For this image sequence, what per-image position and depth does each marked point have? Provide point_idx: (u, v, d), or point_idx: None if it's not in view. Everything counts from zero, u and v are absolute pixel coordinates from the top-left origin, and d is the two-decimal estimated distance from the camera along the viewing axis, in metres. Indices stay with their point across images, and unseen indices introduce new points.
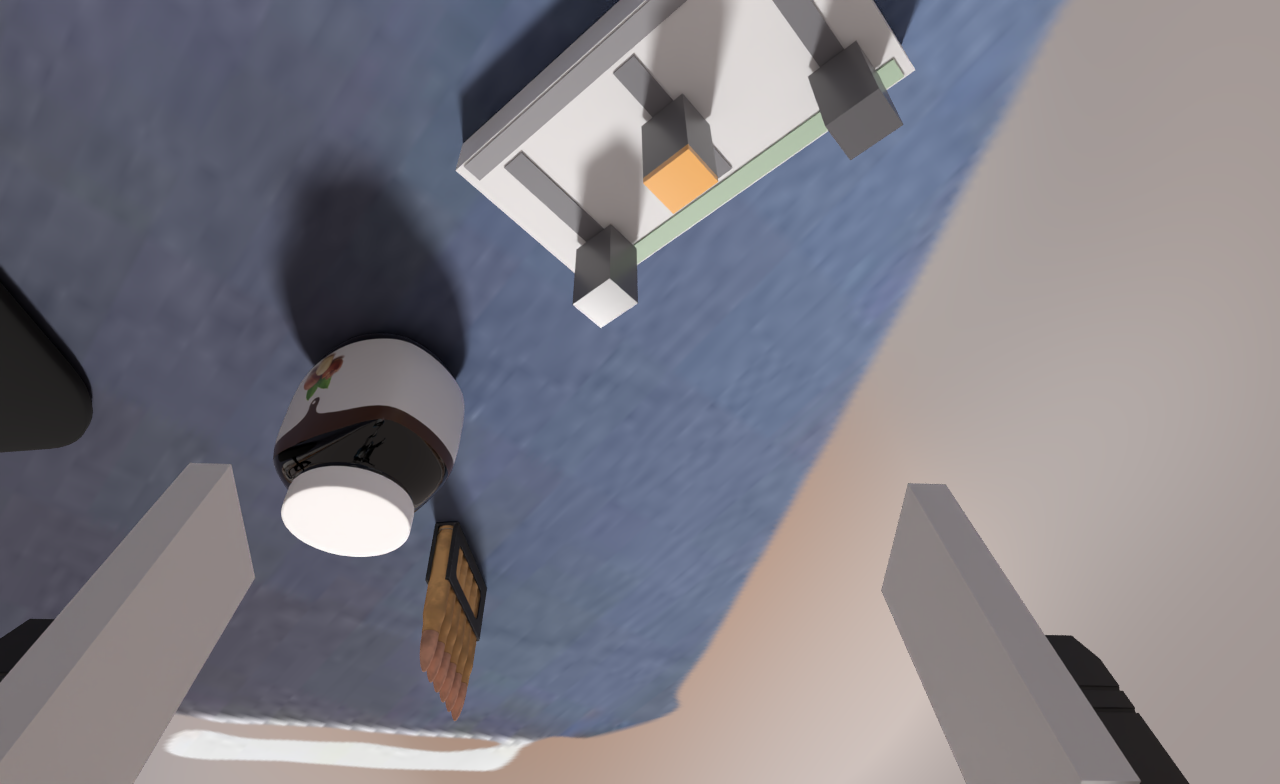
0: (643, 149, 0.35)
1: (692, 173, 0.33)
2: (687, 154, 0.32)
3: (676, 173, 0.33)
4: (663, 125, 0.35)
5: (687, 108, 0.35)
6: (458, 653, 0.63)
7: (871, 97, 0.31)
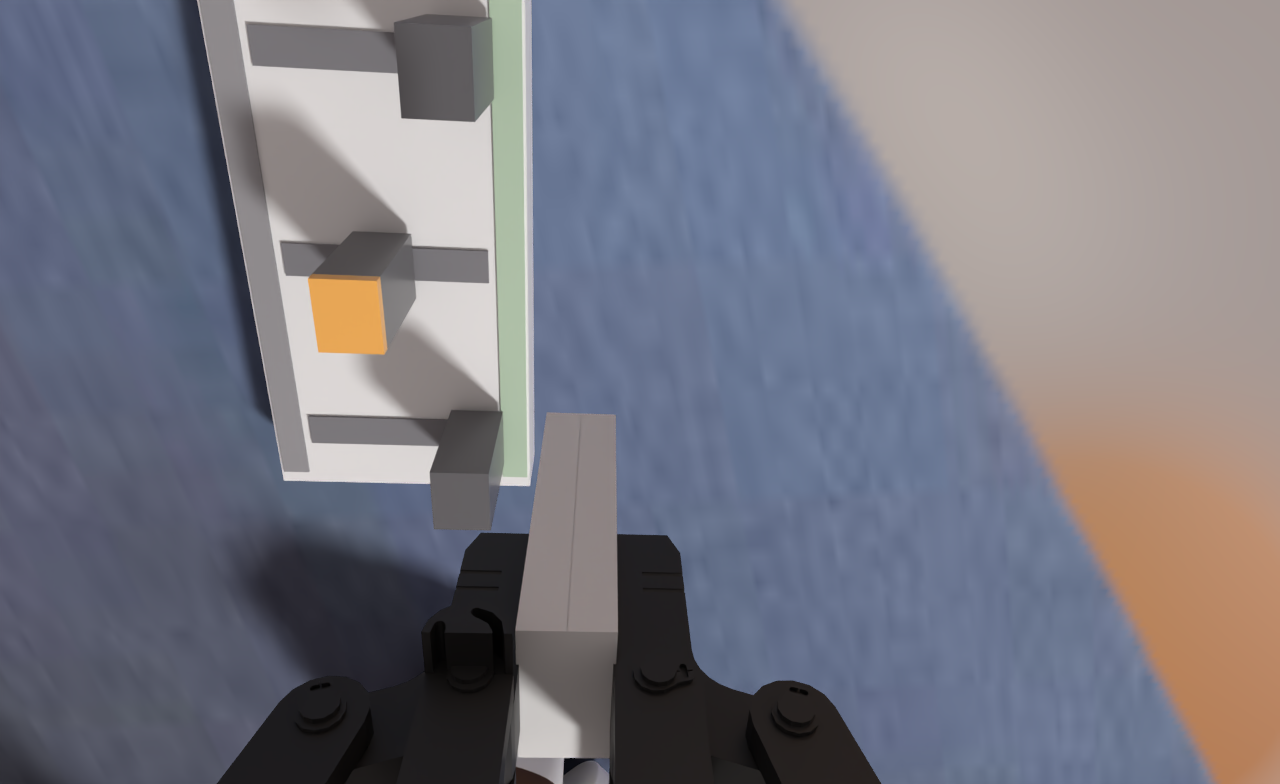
0: None
1: (343, 297, 0.24)
2: (313, 285, 0.24)
3: (331, 312, 0.24)
4: None
5: (353, 240, 0.27)
6: None
7: (400, 39, 0.21)
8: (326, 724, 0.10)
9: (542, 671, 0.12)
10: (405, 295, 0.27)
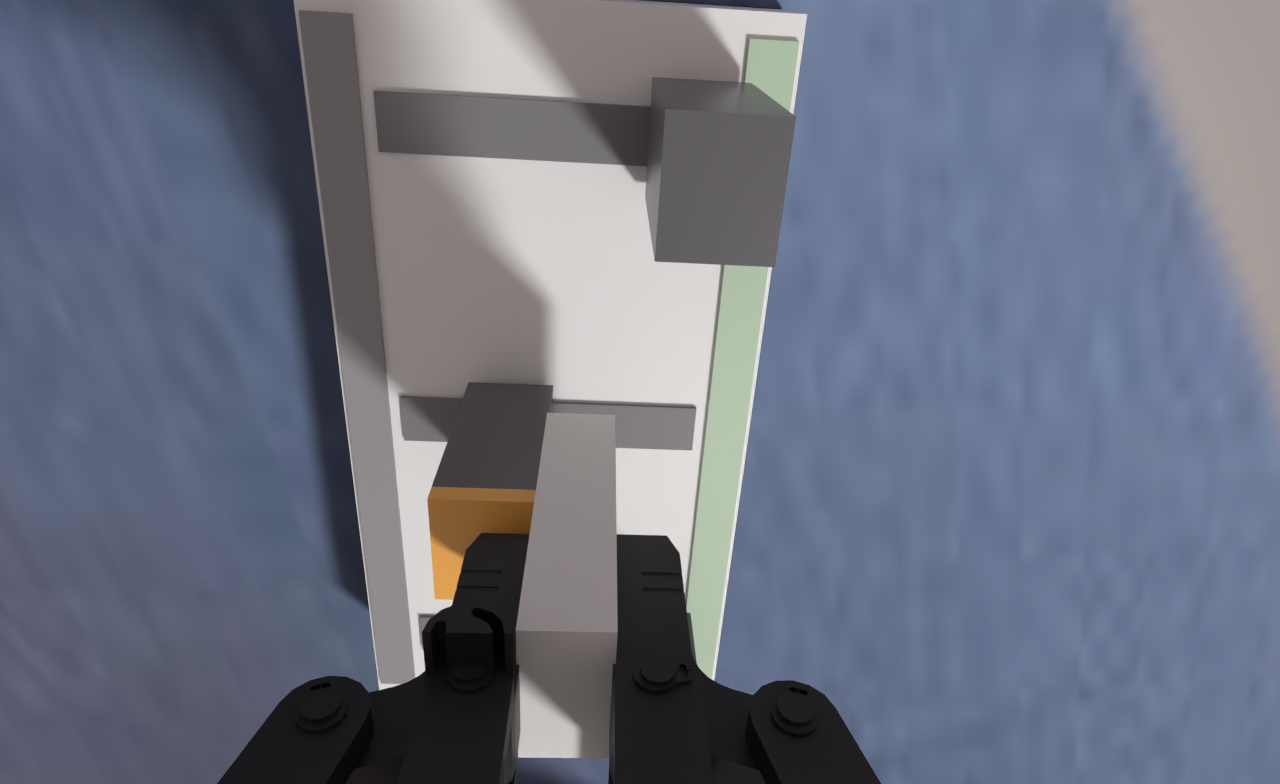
0: None
1: (481, 525, 0.15)
2: (435, 508, 0.15)
3: (460, 546, 0.15)
4: None
5: (474, 402, 0.18)
6: None
7: (671, 136, 0.12)
8: (326, 724, 0.10)
9: (542, 671, 0.12)
10: None
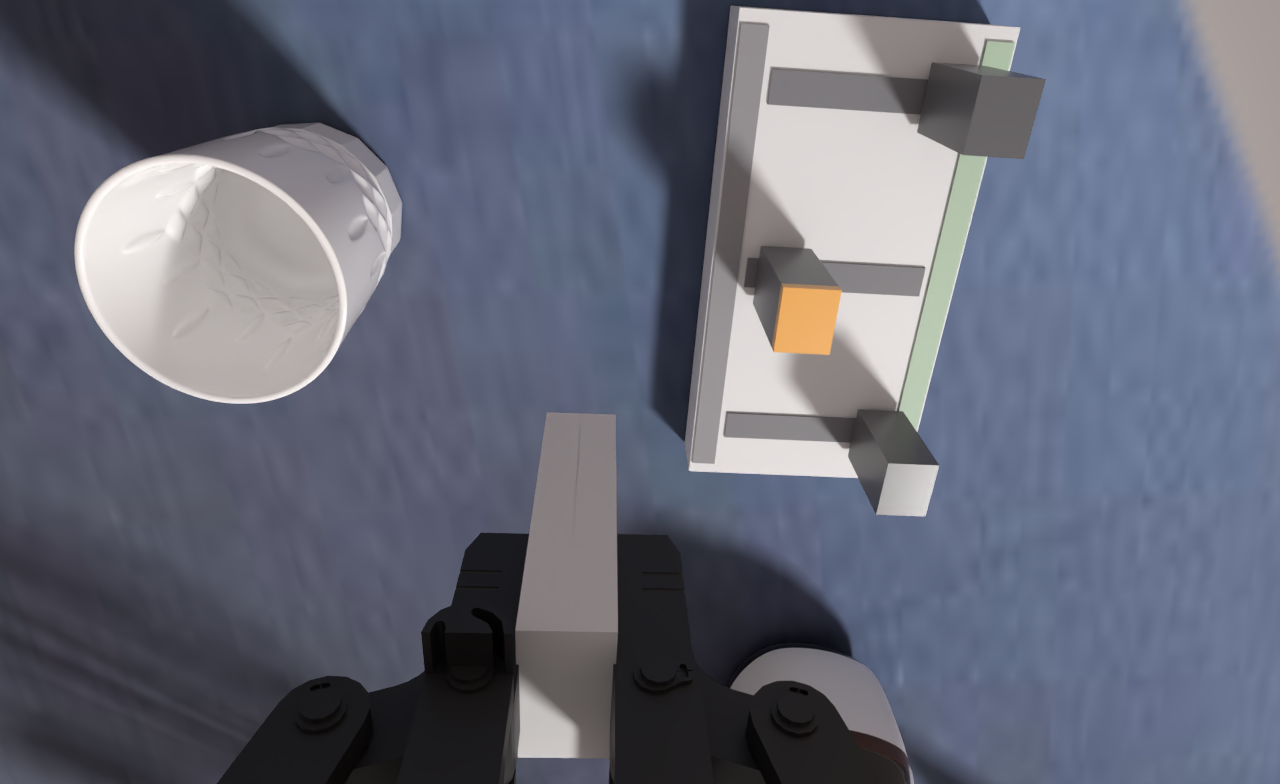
0: (761, 321, 0.31)
1: (809, 304, 0.27)
2: (786, 292, 0.27)
3: (794, 317, 0.28)
4: (762, 286, 0.31)
5: (772, 254, 0.31)
6: None
7: (983, 89, 0.25)
8: (326, 724, 0.10)
9: (542, 671, 0.12)
10: None
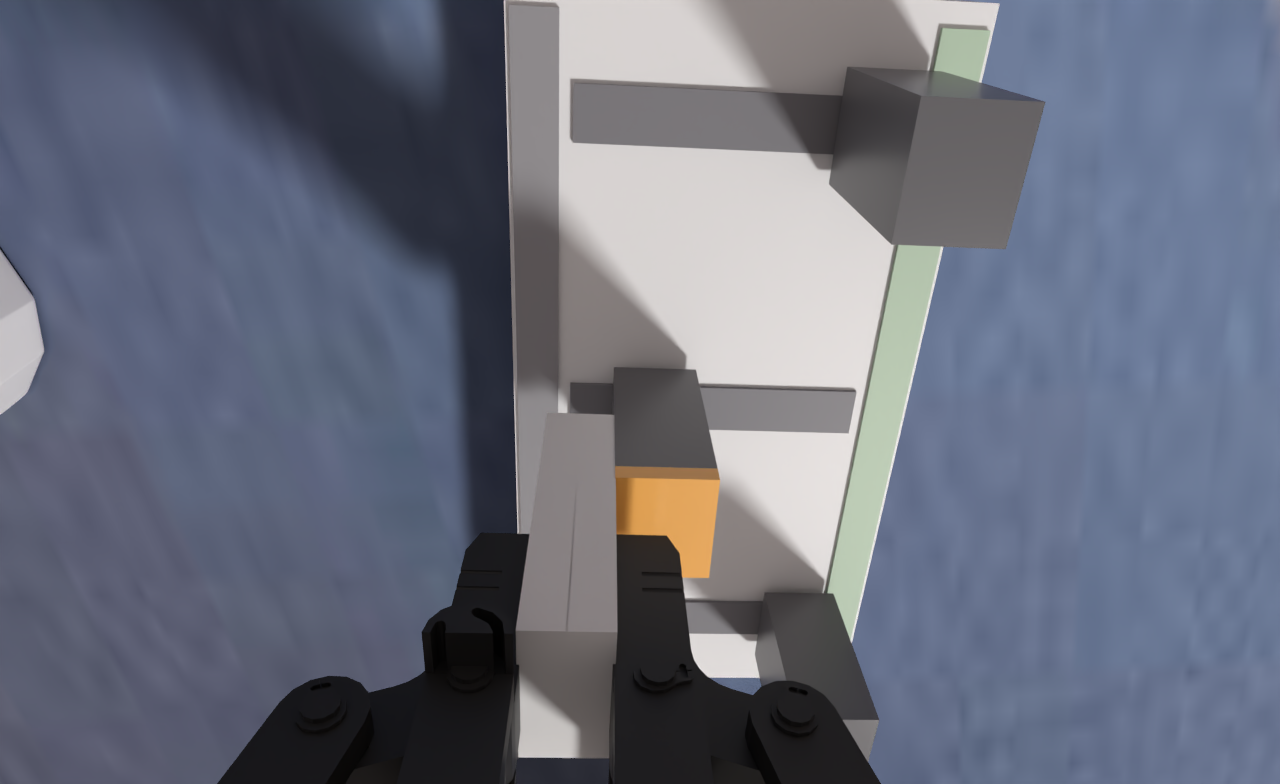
0: None
1: (664, 503, 0.16)
2: (622, 486, 0.15)
3: (641, 523, 0.16)
4: None
5: (626, 386, 0.19)
6: None
7: (923, 123, 0.13)
8: (326, 724, 0.10)
9: (543, 671, 0.12)
10: None
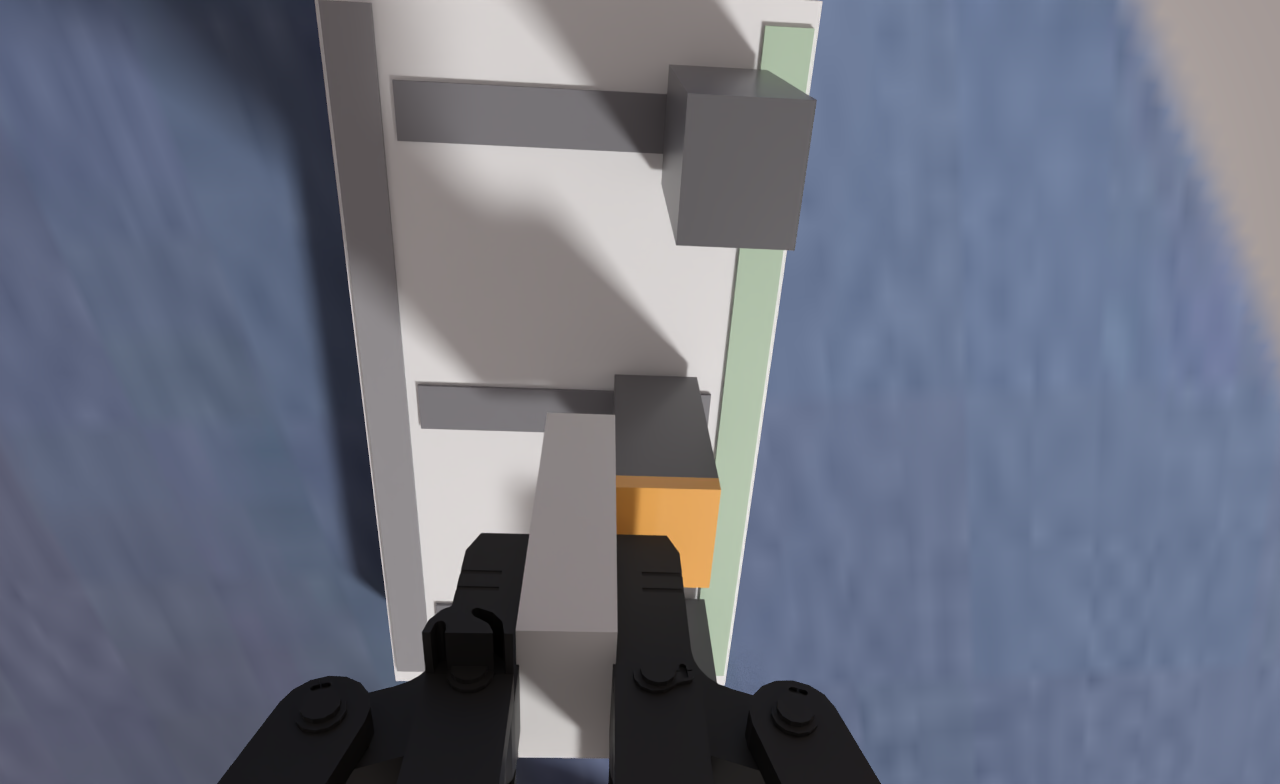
0: None
1: (664, 512, 0.15)
2: (622, 495, 0.15)
3: (642, 533, 0.16)
4: None
5: (626, 393, 0.18)
6: None
7: (694, 121, 0.12)
8: (326, 724, 0.10)
9: (542, 671, 0.12)
10: None
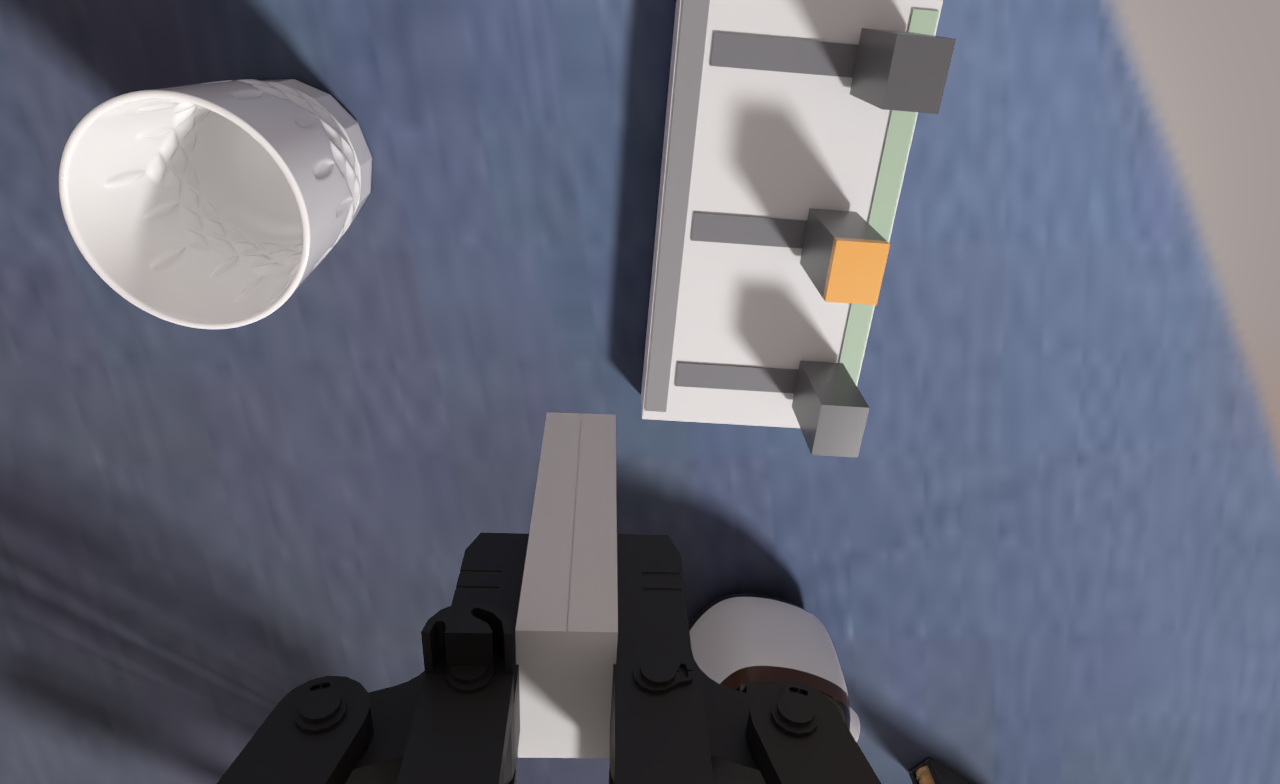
0: (810, 277, 0.33)
1: (859, 257, 0.30)
2: (839, 245, 0.30)
3: (846, 269, 0.30)
4: (812, 244, 0.33)
5: (821, 214, 0.33)
6: None
7: (898, 47, 0.27)
8: (326, 724, 0.10)
9: (542, 671, 0.12)
10: None
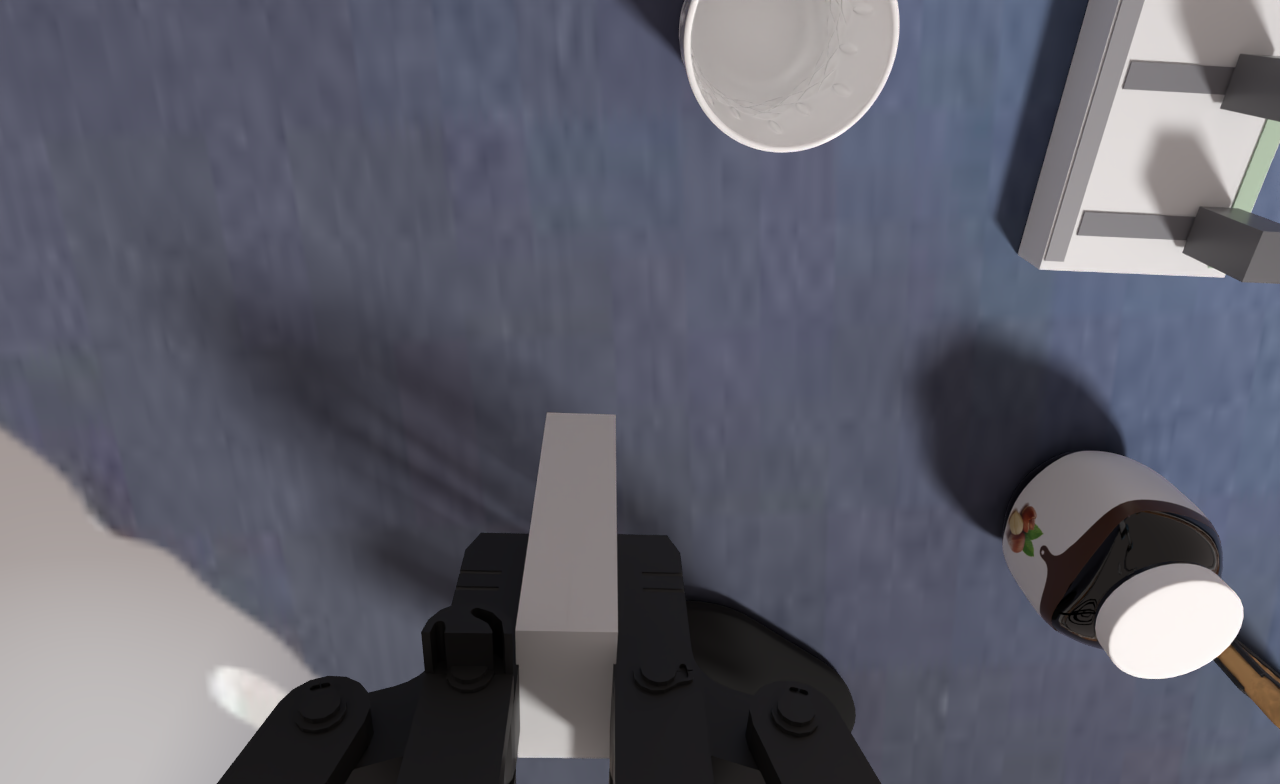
0: (1252, 113, 0.36)
1: None
2: None
3: None
4: (1252, 84, 0.36)
5: (1261, 56, 0.36)
6: None
7: None
8: (326, 724, 0.10)
9: (542, 671, 0.12)
10: None
